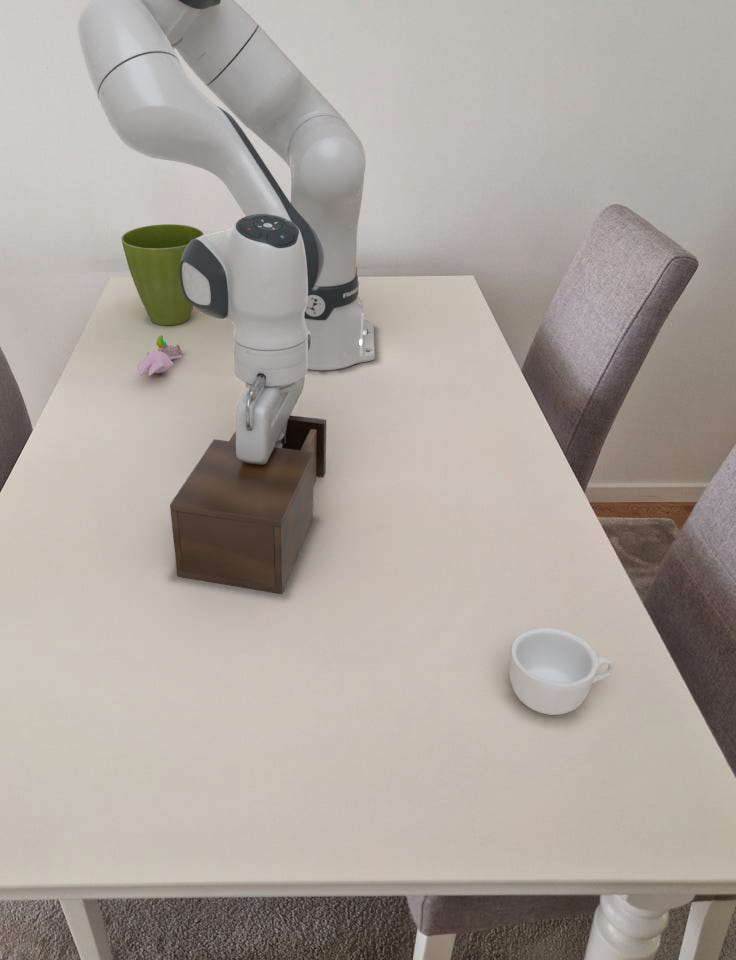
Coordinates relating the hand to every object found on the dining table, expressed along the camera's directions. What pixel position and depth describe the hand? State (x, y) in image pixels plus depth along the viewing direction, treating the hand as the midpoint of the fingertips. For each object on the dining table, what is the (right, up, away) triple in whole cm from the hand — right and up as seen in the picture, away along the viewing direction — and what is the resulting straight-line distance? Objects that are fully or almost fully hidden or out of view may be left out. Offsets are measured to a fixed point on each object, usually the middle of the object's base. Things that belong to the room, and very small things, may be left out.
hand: (272, 456), depth 108 cm
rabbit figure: (-20, +15, +35) cm, 43 cm away
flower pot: (-21, +28, +55) cm, 65 cm away
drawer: (0, -4, +4) cm, 5 cm away
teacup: (+28, -24, -26) cm, 45 cm away
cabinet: (-3, -11, -6) cm, 13 cm away
